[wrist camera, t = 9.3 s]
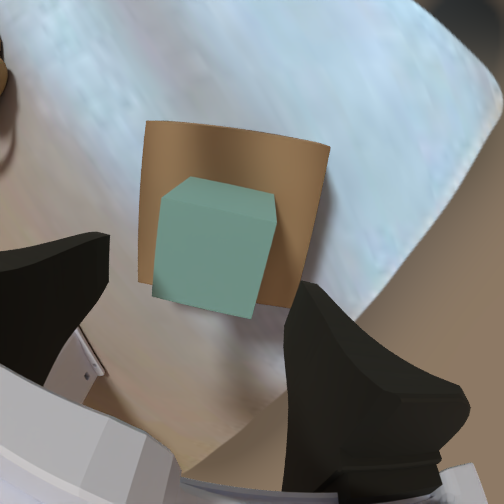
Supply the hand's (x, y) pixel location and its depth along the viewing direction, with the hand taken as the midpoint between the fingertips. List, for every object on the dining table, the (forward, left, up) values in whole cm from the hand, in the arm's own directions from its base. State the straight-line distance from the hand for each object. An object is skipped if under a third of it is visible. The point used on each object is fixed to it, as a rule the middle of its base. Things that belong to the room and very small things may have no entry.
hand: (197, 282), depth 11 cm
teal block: (0, 0, -7) cm, 7 cm away
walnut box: (0, 0, -11) cm, 11 cm away
